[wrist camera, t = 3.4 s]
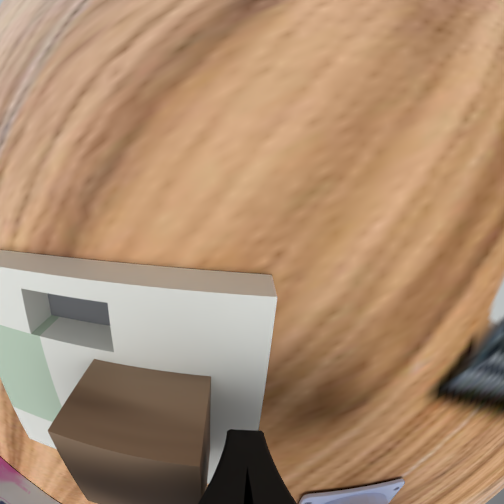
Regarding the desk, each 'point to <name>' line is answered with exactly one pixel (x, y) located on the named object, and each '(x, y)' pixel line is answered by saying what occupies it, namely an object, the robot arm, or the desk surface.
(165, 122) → the desk surface
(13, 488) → the gum box
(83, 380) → the walnut block
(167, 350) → the board
